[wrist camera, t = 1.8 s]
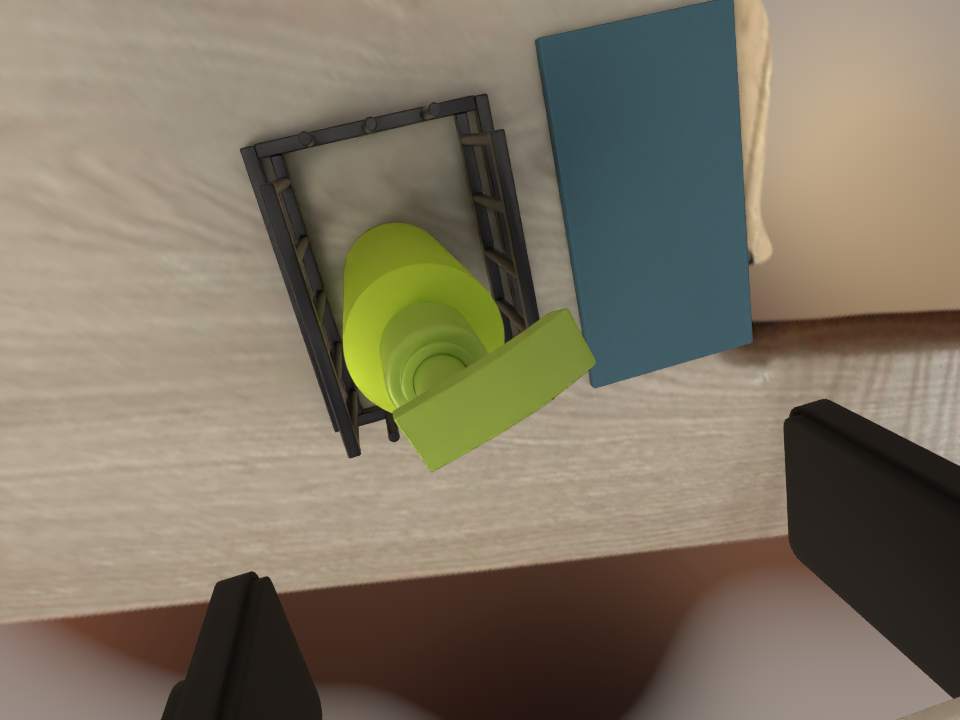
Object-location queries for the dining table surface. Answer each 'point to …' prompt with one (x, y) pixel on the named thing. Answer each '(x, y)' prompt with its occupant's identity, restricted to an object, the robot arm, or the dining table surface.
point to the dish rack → (289, 259)
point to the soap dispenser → (446, 346)
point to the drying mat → (652, 185)
